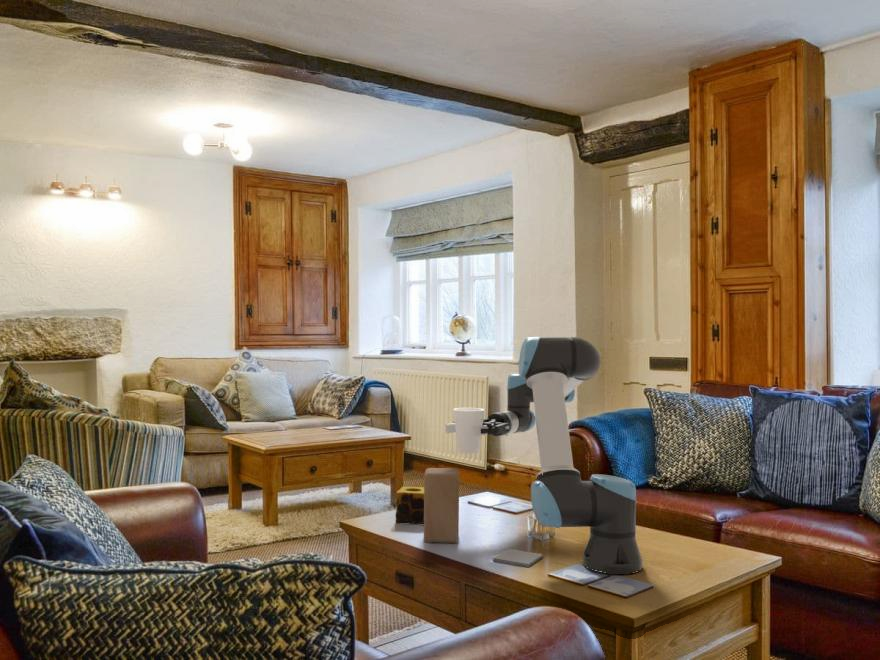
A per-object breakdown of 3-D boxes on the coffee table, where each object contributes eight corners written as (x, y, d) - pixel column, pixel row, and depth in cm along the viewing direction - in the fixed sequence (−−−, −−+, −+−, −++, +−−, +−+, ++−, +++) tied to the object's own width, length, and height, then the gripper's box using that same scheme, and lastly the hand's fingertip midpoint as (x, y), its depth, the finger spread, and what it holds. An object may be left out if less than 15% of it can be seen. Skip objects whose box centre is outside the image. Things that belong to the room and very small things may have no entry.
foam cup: (451, 453, 232) (451, 410, 232) (454, 448, 241) (454, 407, 241) (483, 454, 231) (483, 411, 231) (484, 449, 240) (485, 408, 240)
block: (458, 543, 221) (459, 474, 221) (423, 543, 221) (424, 473, 221) (458, 534, 231) (459, 467, 231) (424, 534, 231) (425, 467, 231)
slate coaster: (542, 557, 209) (542, 554, 209) (528, 567, 200) (528, 563, 200) (508, 551, 214) (508, 548, 214) (493, 561, 205) (493, 558, 205)
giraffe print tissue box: (426, 525, 241) (426, 493, 241) (394, 523, 243) (395, 492, 243) (432, 517, 251) (432, 487, 251) (402, 516, 253) (402, 485, 253)
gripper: (530, 438, 243) (489, 446, 225) (474, 432, 257) (431, 439, 239) (531, 414, 243) (489, 420, 225) (474, 409, 257) (431, 414, 239)
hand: (459, 430), depth 232 cm, fingers closed on foam cup, 9 cm apart
